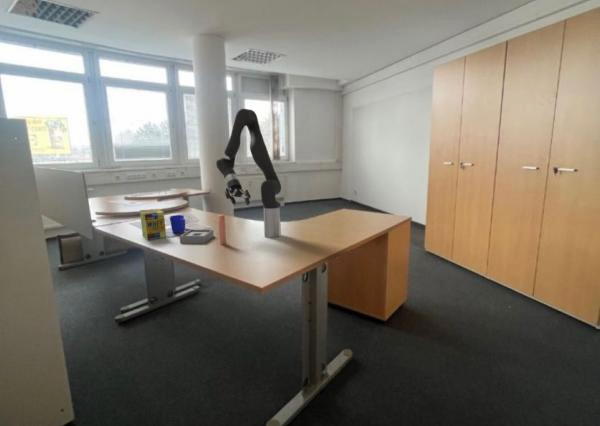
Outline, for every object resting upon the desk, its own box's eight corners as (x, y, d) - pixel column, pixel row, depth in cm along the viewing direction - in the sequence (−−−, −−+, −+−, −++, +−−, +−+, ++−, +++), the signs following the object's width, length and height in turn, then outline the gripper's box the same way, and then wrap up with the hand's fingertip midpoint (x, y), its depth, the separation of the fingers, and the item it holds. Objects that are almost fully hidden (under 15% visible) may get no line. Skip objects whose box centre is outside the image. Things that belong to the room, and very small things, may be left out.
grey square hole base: (213, 236, 185) (213, 229, 184) (204, 243, 171) (203, 236, 171) (191, 236, 186) (190, 229, 186) (180, 242, 173) (179, 235, 172)
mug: (179, 235, 188) (177, 219, 186) (168, 232, 196) (167, 216, 194) (191, 232, 195) (189, 216, 193) (180, 229, 202) (178, 214, 200)
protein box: (147, 240, 178) (144, 214, 175) (142, 235, 190) (139, 210, 187) (166, 237, 184) (164, 211, 181) (160, 232, 196) (158, 208, 193)
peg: (227, 243, 171) (225, 214, 167) (225, 245, 168) (223, 216, 164) (221, 243, 171) (219, 214, 168) (219, 244, 168) (217, 216, 165)
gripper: (224, 177, 174) (232, 198, 166) (246, 179, 183) (255, 200, 175) (219, 186, 179) (227, 207, 170) (241, 188, 188) (250, 208, 179)
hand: (241, 203), depth 173 cm, fingers open, 8 cm apart
